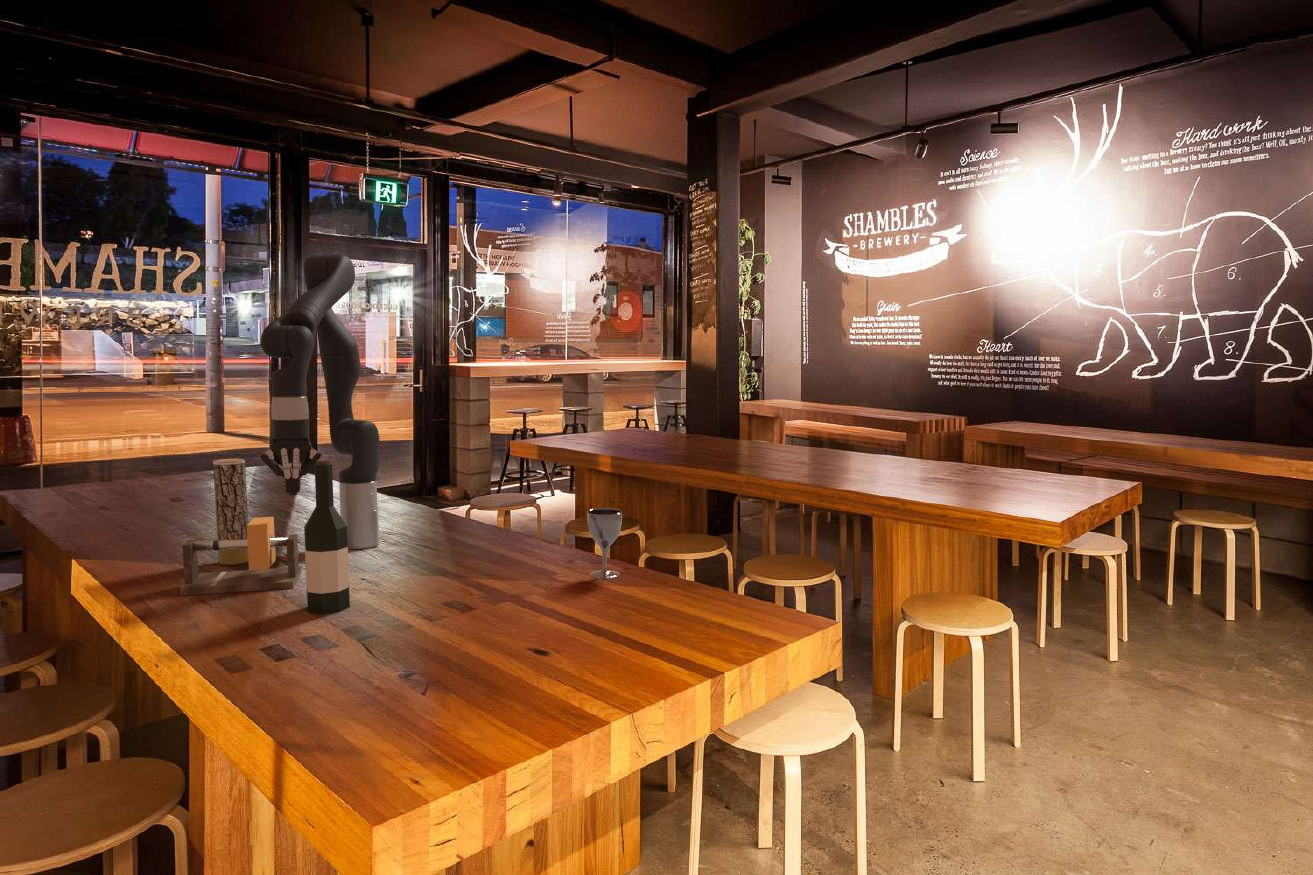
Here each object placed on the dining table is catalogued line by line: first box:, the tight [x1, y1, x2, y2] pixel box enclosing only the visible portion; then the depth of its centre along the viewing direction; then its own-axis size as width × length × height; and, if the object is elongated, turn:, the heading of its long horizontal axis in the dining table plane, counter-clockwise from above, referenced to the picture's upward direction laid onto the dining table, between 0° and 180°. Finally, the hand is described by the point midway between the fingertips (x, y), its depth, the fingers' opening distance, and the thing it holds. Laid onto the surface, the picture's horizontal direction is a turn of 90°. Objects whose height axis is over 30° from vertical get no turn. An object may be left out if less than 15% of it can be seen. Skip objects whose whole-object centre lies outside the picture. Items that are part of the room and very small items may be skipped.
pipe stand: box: [179, 534, 302, 596], centre depth 181 cm, size 22×12×10 cm, turn 105°
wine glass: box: [586, 507, 623, 580], centre depth 191 cm, size 8×8×15 cm
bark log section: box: [212, 458, 249, 566], centre depth 198 cm, size 7×7×25 cm
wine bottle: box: [303, 459, 351, 615], centre depth 165 cm, size 8×8×30 cm
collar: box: [247, 516, 277, 570], centre depth 182 cm, size 4×8×10 cm, turn 15°
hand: (293, 494), depth 183 cm, fingers closed
